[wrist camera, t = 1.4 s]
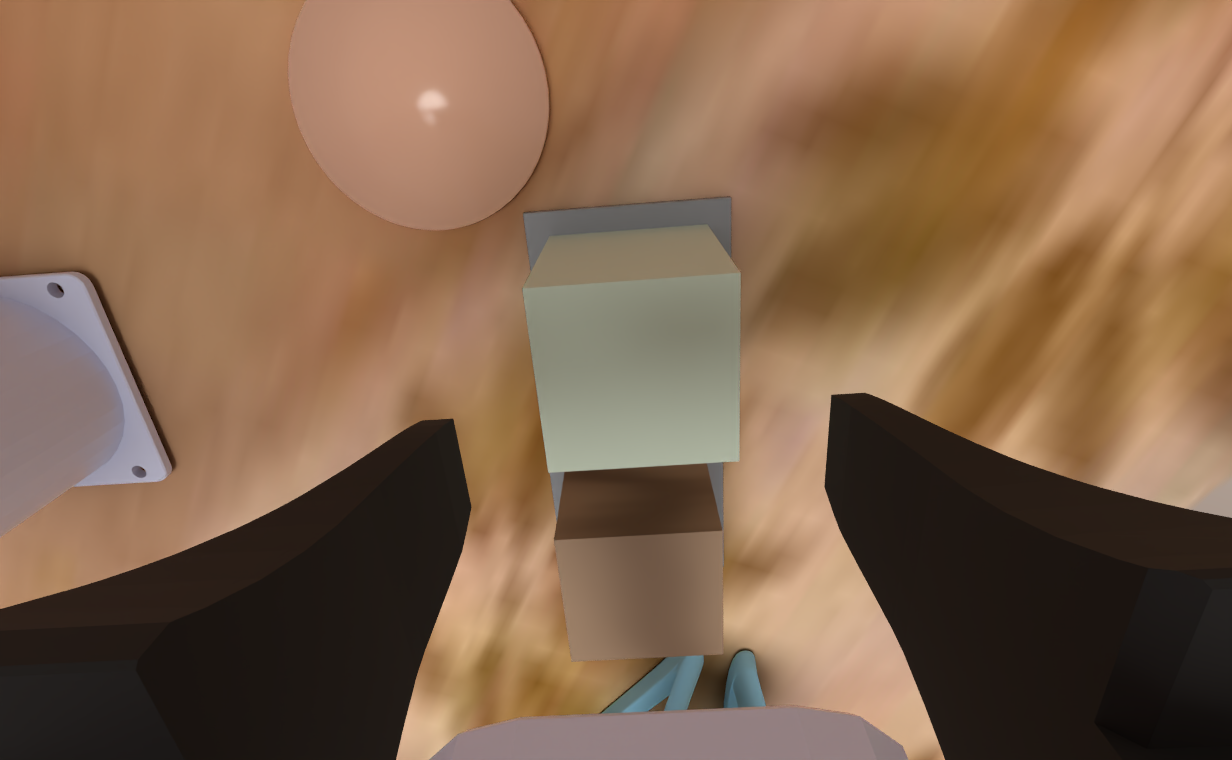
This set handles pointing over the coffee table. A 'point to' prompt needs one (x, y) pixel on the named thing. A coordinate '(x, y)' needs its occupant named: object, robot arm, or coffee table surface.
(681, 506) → the walnut block
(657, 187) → the coffee table surface
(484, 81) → the tan round disc
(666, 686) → the chair
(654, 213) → the code card
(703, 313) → the sage block
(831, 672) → the coffee table surface
